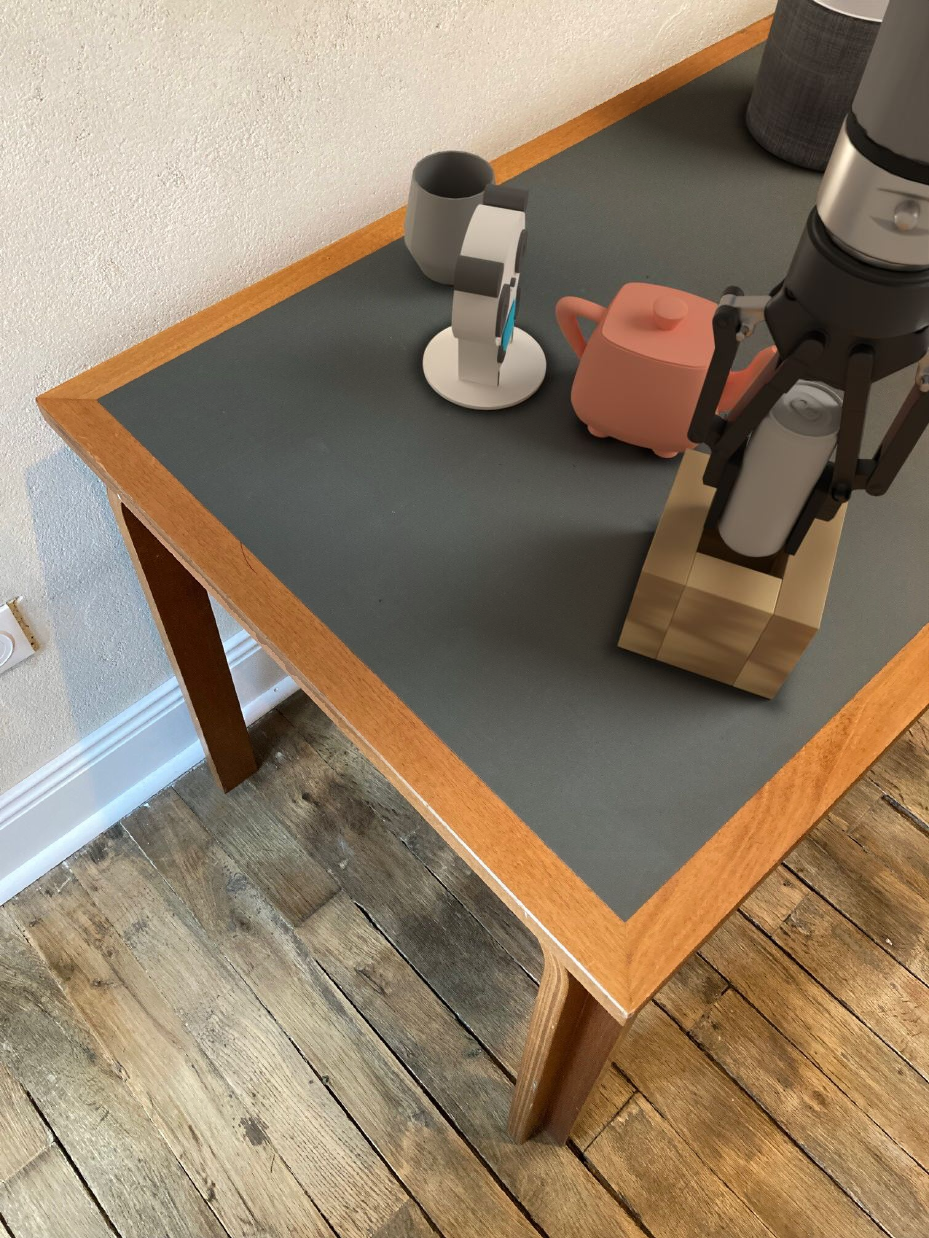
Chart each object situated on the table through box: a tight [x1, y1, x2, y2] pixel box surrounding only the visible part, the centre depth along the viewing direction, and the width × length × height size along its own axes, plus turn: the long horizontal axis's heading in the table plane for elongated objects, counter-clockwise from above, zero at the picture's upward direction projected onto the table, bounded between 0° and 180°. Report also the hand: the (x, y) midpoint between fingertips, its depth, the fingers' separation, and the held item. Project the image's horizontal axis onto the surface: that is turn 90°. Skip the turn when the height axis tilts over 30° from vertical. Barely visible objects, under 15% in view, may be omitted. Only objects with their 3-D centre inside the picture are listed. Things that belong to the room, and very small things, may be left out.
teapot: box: [555, 282, 777, 459], centre depth 79 cm, size 20×12×12 cm, turn 67°
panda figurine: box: [422, 183, 547, 411], centre depth 80 cm, size 12×11×15 cm
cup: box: [403, 150, 497, 286], centre depth 90 cm, size 10×9×10 cm
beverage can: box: [718, 379, 843, 557], centre depth 60 cm, size 5×5×12 cm
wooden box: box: [617, 448, 849, 700], centre depth 69 cm, size 12×12×10 cm
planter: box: [745, 0, 889, 172], centre depth 102 cm, size 18×18×16 cm
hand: (752, 526), depth 64 cm, fingers closed on beverage can, 5 cm apart
